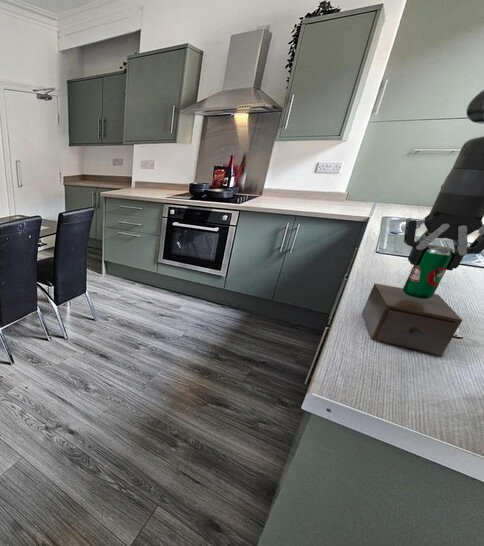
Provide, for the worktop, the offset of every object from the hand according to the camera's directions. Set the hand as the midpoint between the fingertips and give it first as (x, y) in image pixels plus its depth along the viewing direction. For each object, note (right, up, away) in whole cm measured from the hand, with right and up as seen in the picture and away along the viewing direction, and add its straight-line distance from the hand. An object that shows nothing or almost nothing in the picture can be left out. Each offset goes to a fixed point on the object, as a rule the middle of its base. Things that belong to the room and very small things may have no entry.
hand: (430, 266), depth 71 cm
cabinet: (0, -17, +7) cm, 18 cm away
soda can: (0, -7, +3) cm, 8 cm away
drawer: (-2, -17, +5) cm, 17 cm away
